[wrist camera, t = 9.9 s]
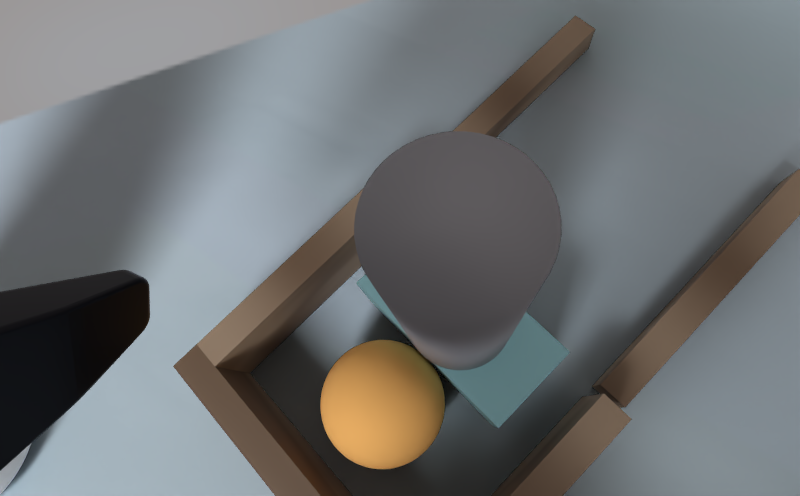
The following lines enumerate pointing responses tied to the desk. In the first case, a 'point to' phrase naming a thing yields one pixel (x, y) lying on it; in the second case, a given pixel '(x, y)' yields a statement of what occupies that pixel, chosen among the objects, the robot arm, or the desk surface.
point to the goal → (338, 260)
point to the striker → (464, 262)
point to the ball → (382, 404)
